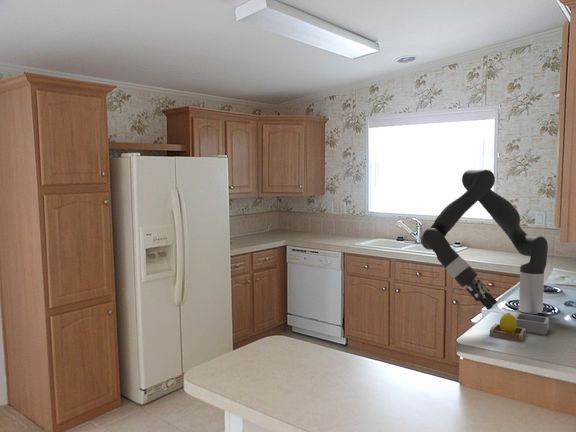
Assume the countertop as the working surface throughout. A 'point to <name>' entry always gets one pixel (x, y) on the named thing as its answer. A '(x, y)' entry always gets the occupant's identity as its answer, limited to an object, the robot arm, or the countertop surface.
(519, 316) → the holder
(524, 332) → the cradle
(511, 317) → the lemon
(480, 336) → the countertop surface
